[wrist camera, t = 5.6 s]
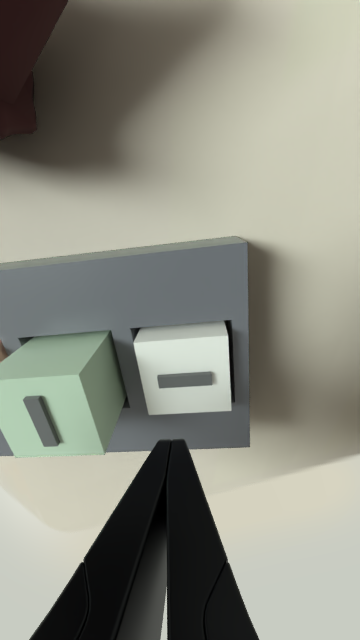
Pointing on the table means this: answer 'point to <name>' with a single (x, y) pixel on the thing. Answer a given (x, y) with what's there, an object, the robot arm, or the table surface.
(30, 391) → the key sage
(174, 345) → the key ivory
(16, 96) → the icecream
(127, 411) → the keypad
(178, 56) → the table surface
